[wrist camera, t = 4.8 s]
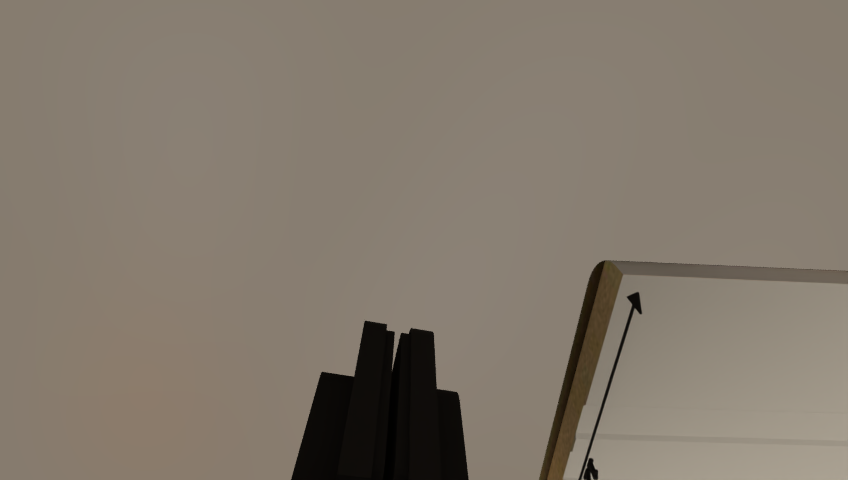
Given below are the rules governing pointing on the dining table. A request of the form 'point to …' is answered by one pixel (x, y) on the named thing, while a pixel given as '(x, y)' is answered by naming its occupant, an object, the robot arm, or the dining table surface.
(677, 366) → the baseboard molding
